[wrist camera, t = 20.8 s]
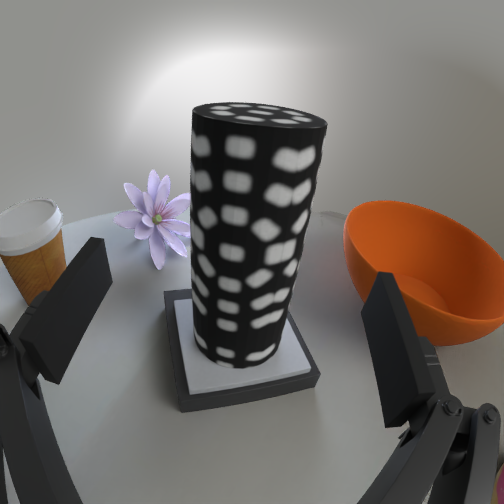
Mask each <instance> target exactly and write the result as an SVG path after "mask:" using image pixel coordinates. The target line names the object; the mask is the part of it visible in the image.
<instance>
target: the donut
mask: <svg viewBox="0 0 504 504" xmlns="http://www.w3.org/2000/svg"><path fill="white" fill-rule="evenodd" d="M491 504H504V463H503V465H502V466H501V468H500V470H499V471H498V473H497V475H496V477H495V482H494V488H493V494H492V499H491Z"/></svg>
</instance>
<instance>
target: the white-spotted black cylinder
mask: <svg viewBox="0 0 504 504" xmlns="http://www.w3.org/2000/svg"><path fill="white" fill-rule="evenodd" d="M326 129H327V122H326V121H325V120H324V119H322V118H320V117H318V116H315V115H312V114H309V113H306V112H303V111H299V110H294V109H290V108H285V107H279V106H273V105H266V104H256V103H236V102H235V103H233V102H227V103H211V104H204V105H200V106H197V107H195V108H194V109H193V110H192V135H191V175H190V177H191V178H190V240H191V282H192V307H193V327H194V338H195V342H196V345H197V347H198V348H199V350H200V351H201V353H202V354H203V355H204V356H206V357H207V358H208V359H209V360H211V361H213V362H214V363H216V364H219V365H221V366H224V367H229V368H235V369H244V368H251V367H255V366H258V365H261V364H263V363H264V362H266V361H268V360H269V359H270V358H271V357H272V356H274V354H275V353H276V351H277V350H278V348H279V345H280V342H281V338H282V334H283V330H284V326H285V323H286V319H287V314H288V310H289V306H290V302H291V298H292V294H293V290H294V286H295V281H296V277H297V273H298V268H299V264H300V260H301V255H302V251H303V246H304V242H305V237H306V232H307V228H308V223H309V218H310V214H311V209H312V204H313V198H314V194H315V189H316V184H317V178H318V174H319V168H320V163H321V157H322V152H323V147H324V141H325V136H326Z"/></svg>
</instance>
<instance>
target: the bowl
mask: <svg viewBox="0 0 504 504" xmlns="http://www.w3.org/2000/svg"><path fill="white" fill-rule="evenodd" d="M343 242H344V253H345V259H346V263H347V267H348V270H349V273H350V276H351V279H352V281H353V284H354V286H355V288H356V290H357V292H358V293H359V295H360V297H361V299H362V300H363V302H364V303H365V302H366V300H367V298H368V295H369V293H370V291H371V288H372V286H373V283H374V281H375V279H376V276H377V274H378V271H381V272H390V273H393V275H394V278H395V280H396V282H397V285H398V287H399V289H400V292H401V294H402V297H403V299H404V301H405V304H406V306H407V309H408V311H409V314H410V317H411V319H412V322H413V324H414V327H415V330H416V332H417V335H418V336H424V337H427V338H428V340H429V341H430V342H431V343H432V345H434V346H450V345H458V344H463V343H467V342H471V341H474V340H477V339H479V338H481V337H483V336H485V335H487V334H489V333H491V332H492V331H494V330H495V329H497V328H498V327H499V326H501V325H502V324H503V323H504V261H503V259H502V258H501V257H500V256H499V255H498V253H497V252H496V251H495V250H494V249H493V248H492V247H491V246H490V245H489V244H487V243H486V242H485V241H484V240H483V239H482V238H480V237H479V236H478V235H476V234H475V233H474V232H472V231H471V230H469V229H468V228H466V227H464V226H463V225H461V224H460V223H458V222H456V221H454V220H453V219H451V218H448V217H447V216H444V215H442V214H440V213H437V212H435V211H432V210H430V209H426V208H424V207H420V206H417V205H413V204H409V203H404V202H397V201H371V202H367V203H363V204H361V205H359V206H357V207H355V208H354V209H353V210H352V211H351V212H350V213H349V214H348V216H347V218H346V221H345V225H344V235H343Z"/></svg>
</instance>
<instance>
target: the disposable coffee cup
mask: <svg viewBox="0 0 504 504" xmlns="http://www.w3.org/2000/svg"><path fill="white" fill-rule="evenodd" d="M62 221H63V214H62V212H61V210H60V209H58V207H57V205H56V203H55V202H54V201H53V200H51V199H48V198H35V199H29V200H25V201H22V202H19V203H17V204H15V205H12V206H10V207H9V208H7V209H5V210H4V211H3V212H1V213H0V257H1V259H2V261H3V263H4V265H5V266H6V268H7V270H8V272H9V274H10V276H11V277H12V279H13V281H14V283H15V284H16V286H17V288H18V289H19V291H20V293H21V294H22V296H23V298H24V299H25V301H26V302H27V304H28V306H29V305H30V303H31V302H32V301H33V299H34V298H35V297H36V296H37V295H38V294H39V293H41V292H42V291H43V290H46V291H50V289H51V288H52V286H53V285H54V284H55V282H56V281H57V280H58V278H59V277H60V276H61V274H62V273H63V272H64V270H65V269H66V268H67V267H66V262H65V254H64V247H63V239H62V230H61V227H62Z"/></svg>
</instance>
